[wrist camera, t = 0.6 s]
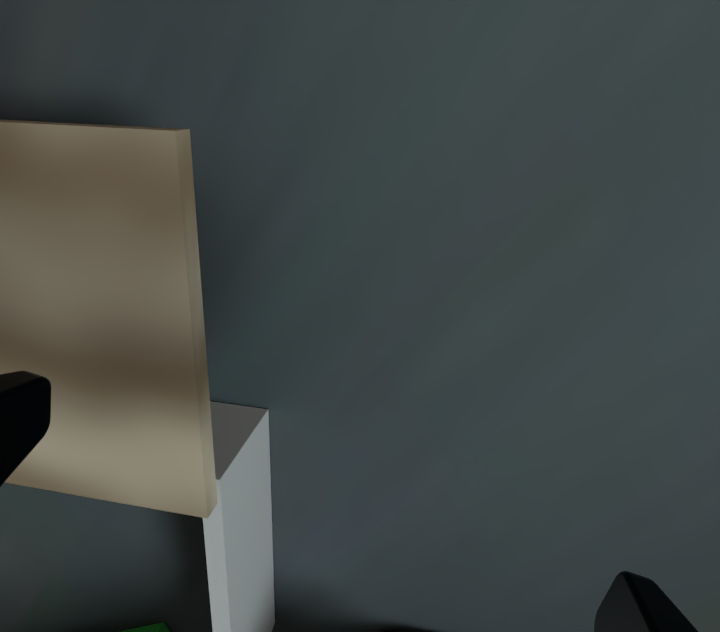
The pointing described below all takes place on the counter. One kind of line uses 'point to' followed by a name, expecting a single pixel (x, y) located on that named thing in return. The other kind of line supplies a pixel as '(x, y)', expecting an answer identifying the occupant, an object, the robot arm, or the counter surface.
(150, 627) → the pipe clamp
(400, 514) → the counter surface
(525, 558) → the counter surface
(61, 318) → the lid
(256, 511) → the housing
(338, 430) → the counter surface
